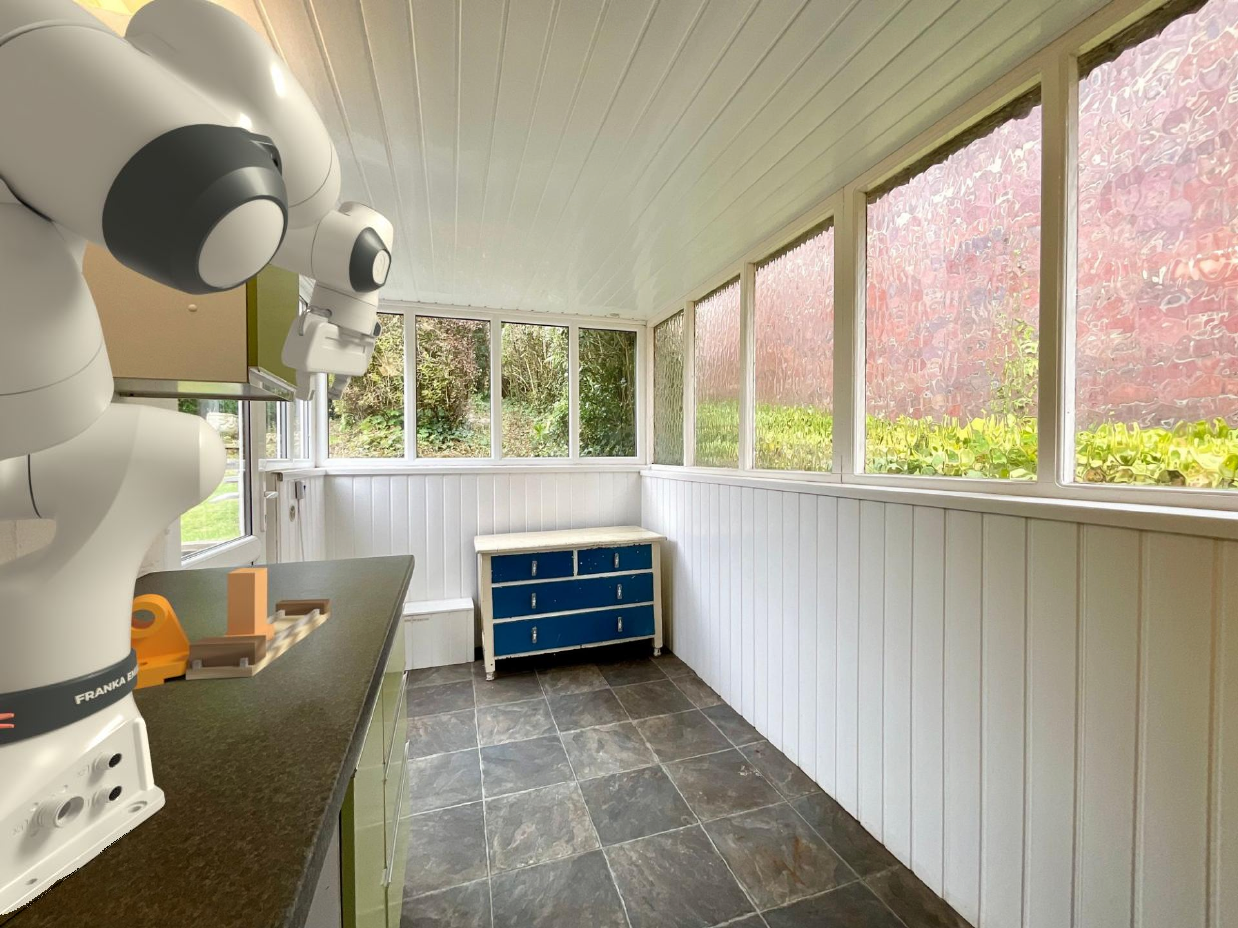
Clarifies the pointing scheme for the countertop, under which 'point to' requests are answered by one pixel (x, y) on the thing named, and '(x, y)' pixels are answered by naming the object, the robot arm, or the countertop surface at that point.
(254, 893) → the countertop surface
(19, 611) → the robot arm
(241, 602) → the slider
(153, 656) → the bracket
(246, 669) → the rail board
